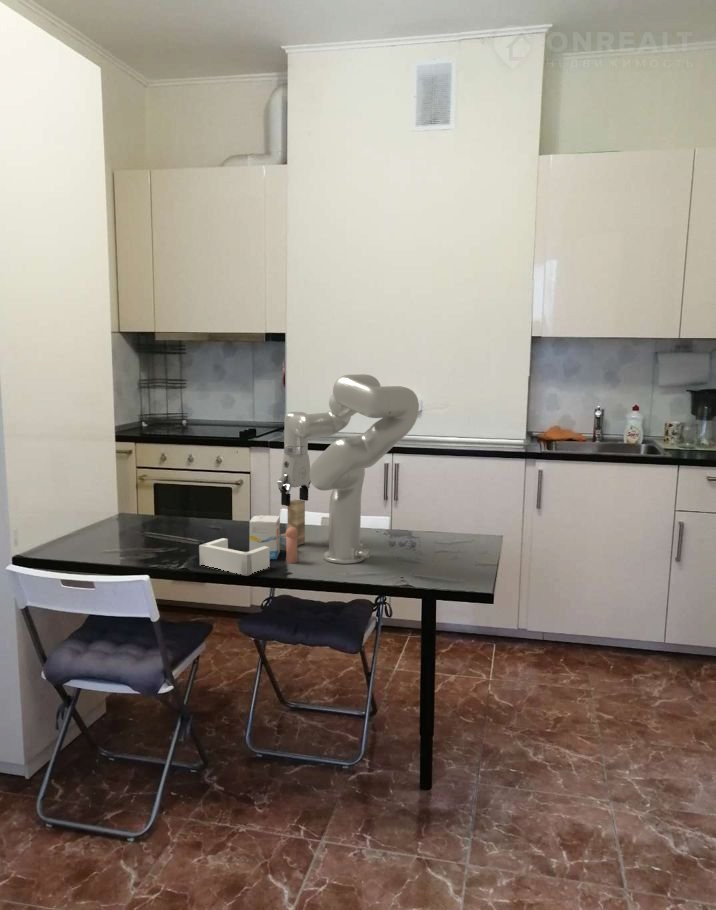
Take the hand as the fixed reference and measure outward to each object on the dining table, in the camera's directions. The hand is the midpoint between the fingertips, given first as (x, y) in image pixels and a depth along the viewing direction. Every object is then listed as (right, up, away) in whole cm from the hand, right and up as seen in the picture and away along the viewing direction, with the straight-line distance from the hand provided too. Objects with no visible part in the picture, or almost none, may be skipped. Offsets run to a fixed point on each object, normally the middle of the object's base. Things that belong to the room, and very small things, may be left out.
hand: (294, 502), depth 235 cm
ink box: (-8, -16, -12) cm, 21 cm away
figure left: (+1, -16, -19) cm, 25 cm away
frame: (-16, -17, -24) cm, 33 cm away
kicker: (-2, -14, -1) cm, 14 cm away
